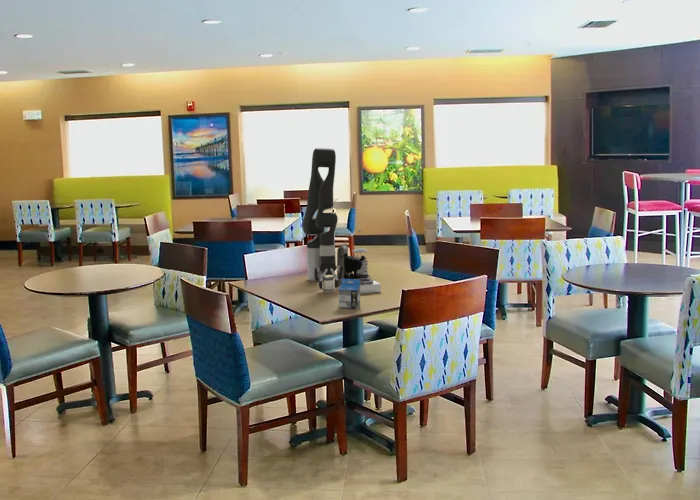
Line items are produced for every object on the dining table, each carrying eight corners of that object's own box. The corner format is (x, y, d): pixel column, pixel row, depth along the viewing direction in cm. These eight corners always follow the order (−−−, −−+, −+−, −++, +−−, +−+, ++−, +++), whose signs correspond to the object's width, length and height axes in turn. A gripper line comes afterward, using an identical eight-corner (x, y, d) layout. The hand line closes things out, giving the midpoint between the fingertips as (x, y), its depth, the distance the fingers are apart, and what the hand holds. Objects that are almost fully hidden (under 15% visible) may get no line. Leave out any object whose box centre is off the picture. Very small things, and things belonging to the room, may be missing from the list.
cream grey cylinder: (322, 291, 344) (321, 276, 343) (332, 290, 345) (332, 276, 344) (324, 293, 339) (324, 278, 338) (335, 292, 340) (334, 277, 339)
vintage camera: (366, 286, 355) (367, 247, 352) (336, 285, 358) (336, 246, 355) (369, 283, 364) (370, 245, 361) (340, 281, 367) (341, 243, 364)
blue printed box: (338, 308, 307) (337, 280, 305) (341, 306, 310) (341, 278, 309) (357, 309, 304) (357, 281, 302) (360, 307, 307) (360, 279, 305)
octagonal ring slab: (344, 291, 343) (344, 279, 342) (374, 288, 347) (374, 277, 346) (349, 294, 334) (349, 283, 334) (380, 292, 338) (380, 280, 338)
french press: (373, 275, 384) (372, 229, 380) (362, 278, 374) (361, 231, 371) (357, 273, 389) (356, 228, 386) (346, 277, 379) (345, 230, 376)
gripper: (339, 252, 345) (340, 285, 347) (311, 254, 341) (312, 288, 344) (344, 254, 338) (344, 288, 340) (314, 256, 334) (315, 290, 336)
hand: (328, 288), depth 342 cm, fingers open, 6 cm apart
